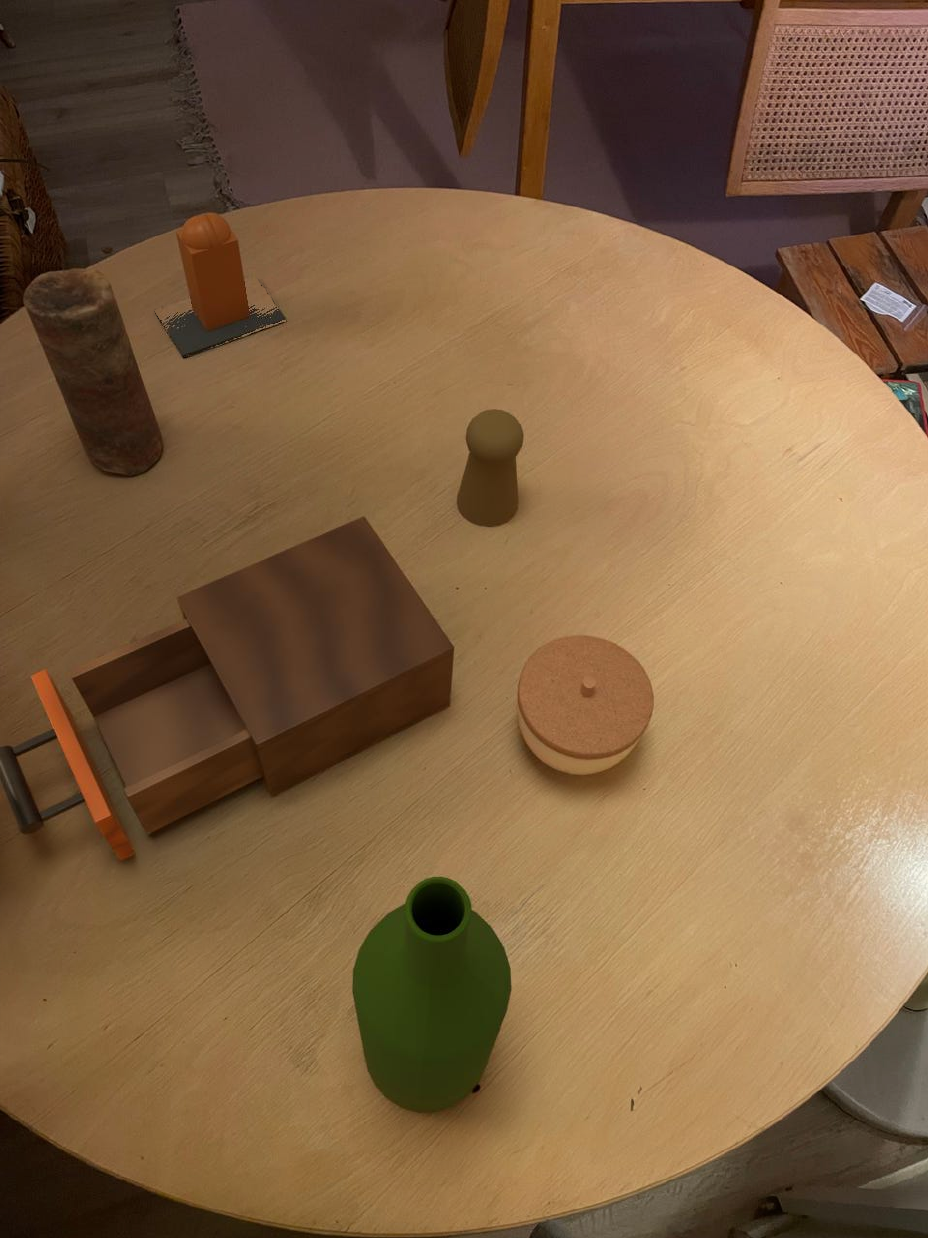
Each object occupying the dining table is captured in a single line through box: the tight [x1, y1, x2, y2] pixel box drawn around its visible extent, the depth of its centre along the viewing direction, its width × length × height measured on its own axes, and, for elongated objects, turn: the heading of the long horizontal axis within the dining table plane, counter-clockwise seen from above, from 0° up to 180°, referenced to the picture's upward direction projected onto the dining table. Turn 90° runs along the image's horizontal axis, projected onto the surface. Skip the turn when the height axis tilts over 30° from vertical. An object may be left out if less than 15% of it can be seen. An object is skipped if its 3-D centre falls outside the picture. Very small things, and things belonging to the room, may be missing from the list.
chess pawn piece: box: [456, 408, 525, 528], centre depth 96 cm, size 6×6×11 cm
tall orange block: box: [175, 212, 250, 331], centre depth 108 cm, size 5×4×12 cm
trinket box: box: [516, 634, 655, 776], centre depth 84 cm, size 11×11×9 cm
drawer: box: [0, 618, 263, 861], centre depth 81 cm, size 21×14×8 cm, turn 121°
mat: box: [161, 305, 287, 358], centre depth 113 cm, size 12×8×1 cm, turn 121°
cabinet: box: [176, 515, 455, 798], centre depth 85 cm, size 17×15×10 cm
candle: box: [22, 268, 163, 477], centre depth 94 cm, size 8×7×20 cm
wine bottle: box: [351, 876, 512, 1113], centre depth 60 cm, size 9×9×32 cm
